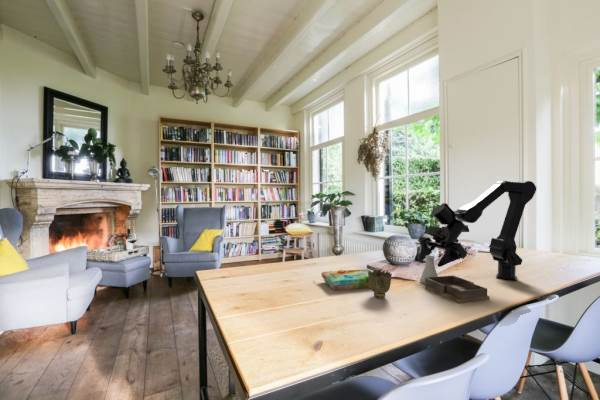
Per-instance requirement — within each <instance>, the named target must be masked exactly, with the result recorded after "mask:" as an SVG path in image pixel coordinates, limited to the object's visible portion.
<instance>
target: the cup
mask: <svg viewBox="0 0 600 400" xmlns="http://www.w3.org/2000/svg"><path fill="white" fill-rule="evenodd" d="M372 271H373V272H372V273H371V271H369V272H368V276H369V284H370V287H369V288H370V290H371V291H372V292H373V296H374V297H375V298H377V299H384V298H385V297H386V293H388V292H389V291H390V287H391V284H392V283H391V281H392V275H393V273H391V272H390V271H387V270H386V271H385V270H381V269H377V270H376V269H373V270H372Z"/></svg>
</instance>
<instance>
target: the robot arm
mask: <svg viewBox="0 0 600 400" xmlns="http://www.w3.org/2000/svg"><path fill="white" fill-rule="evenodd" d="M536 192H537V185H535V183H534V182H533V181H530V180H526V181H525V180H524V181H523V180H521V181H508V180H500V181H499V180H498V181H496V182H494V184H493V185H491V186H490V188H488V189H487V190H486V191H484V192H483V193H482V194H481V195H479V196H478V197H477V198H475V200H473V201H472V202H469V203H467V204H464V205H463V206H461V207H459V208H458V209H456V210H453V209H452V208H451V207H450V206H449V204H448V203H446V202H443V203H442V204H440V205H438V206H436V207H434V208H433V209H432V210H431V213H430V215H432V217H433V218H434V219H435V220H436V221H437V222H438V223H439V224H440V225H442V226H441V227H438V226H434V225H429V226H428V228H427V231H426V234H427V235H429V236H431V237H432V239H431V238H430V237H429V236H423V235H422V236H420V237H419V238H418V239H417V242H418V243H419V244H420V247H421V248H420V253H419V257H418V261H419V262H423V260H424V259H425V260H426V257H425V256H431V254H432V253H433V251H434V250H435V249H441V250H442V251H443V250H444V253H443V255H442V257H441V258H440V260H439V261H438V263H437V266H438V267H439V268H441V267H443V266H446V265H448V264H449V263H451V262H455V261H457V260H461V259H463V260H464V259H465V258H466V256H467V255H468V251H467V250H466V249H465V247H464V246H463V244H461V242H460V243H459V241H460V240H459V239H458V238H459V237H460V235H461V234H462V233H469V232H470V228H469V225H468V224H474V223H476V222H477V221H478V220H479V219H480V218H481V216H482V215H483V212H484V210H485V209H486V208H488V207H489V206H491V204H492V203H494V202H495V201H496V200H497V199H499V198H500V197H501V196H502V195H504V193H507V194H508V195H507V196H508V198H509V205H508V208H507V211H506V215H505V216H504V220H503V224H502V226H501V230H500V233H499V235H498V236H497V237H491V240H490V244H489V246H488V248H489V251H488V252H489V253H490V255H491V256H492V259H493V261H496V262H497V273H496V276H495V277H496V279H502V280H508V281H513V282H514V281H515V282H516V281H518V279H517V277H518V276H517V275H516V274H517V272H516V268H517V266H521V265H522V262H523V259H522V258H521V257H520V256H519V255H518V254H517V247H518V246H517V244H516V240H515V238H516V235H517V232H518V229H519V226H520V223H521V219H522V218H523V217H522V216H523V214H524V210H525V208H526V205H527V204H528V203H529V202H530V201H531V200H532V199H533V198H534V196H535V194H536ZM466 223H468V224H466ZM443 225H445V226H443ZM433 240H434V241H433Z"/></svg>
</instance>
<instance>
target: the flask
mask: <svg viewBox="0 0 600 400" xmlns="http://www.w3.org/2000/svg"><path fill="white" fill-rule="evenodd" d="M425 257H426V258H425V264H424V265H425V266H424V269H423V271H422V274H421V277H420V279H419V282H420V283H422V284H423V285H425V278H429V277H439V275H438V273H437V269H436V267H435V266H436V265H435V258H436V257H435V256H434V255H428V256H425Z"/></svg>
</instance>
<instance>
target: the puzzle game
mask: <svg viewBox="0 0 600 400" xmlns="http://www.w3.org/2000/svg"><path fill="white" fill-rule="evenodd" d="M369 271H371V273H372V272H373V271H374V270H371V269H370V268H363V269H361V268H360V269H346V270H343V269H339V270H333V271H332V270H330V271H322V272H321V278H322V279H323V280H324V283H325V284H326V285H328V286H329V288H331V289H332V290H334V291H342V290H343V291H344V290H353V289H355V290H357V289H364V288H365V289H366V288H370V284H369V276H368V272H369Z"/></svg>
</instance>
